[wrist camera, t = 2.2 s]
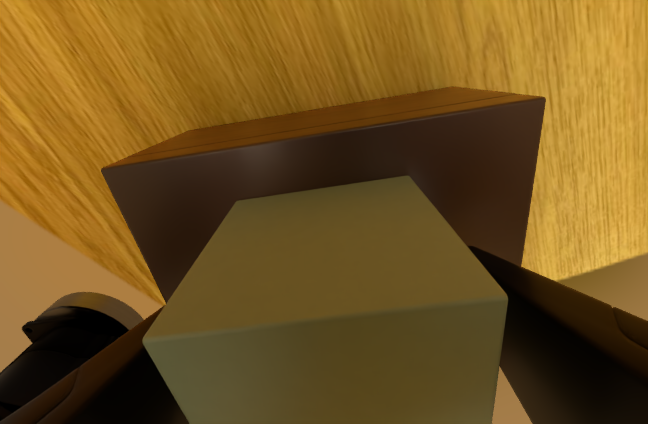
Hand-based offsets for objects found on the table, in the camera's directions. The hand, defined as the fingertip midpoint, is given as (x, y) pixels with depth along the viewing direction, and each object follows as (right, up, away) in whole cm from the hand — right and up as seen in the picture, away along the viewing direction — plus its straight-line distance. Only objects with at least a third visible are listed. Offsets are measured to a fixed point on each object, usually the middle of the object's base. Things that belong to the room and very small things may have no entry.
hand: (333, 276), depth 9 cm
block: (0, 0, +1) cm, 1 cm away
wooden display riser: (0, +3, +6) cm, 7 cm away
